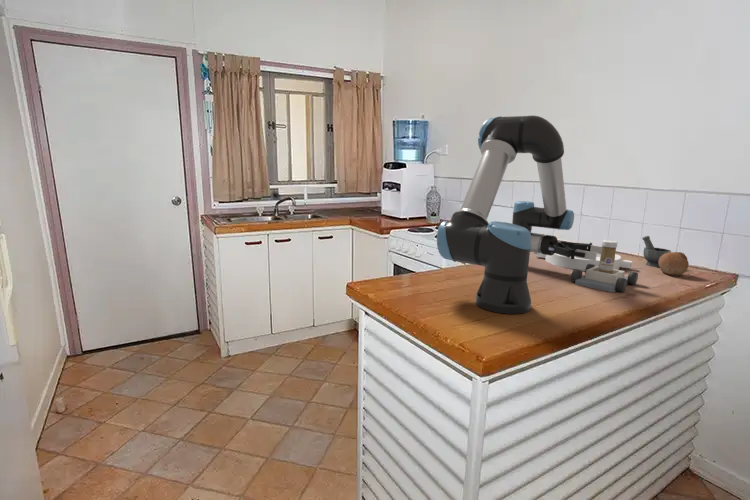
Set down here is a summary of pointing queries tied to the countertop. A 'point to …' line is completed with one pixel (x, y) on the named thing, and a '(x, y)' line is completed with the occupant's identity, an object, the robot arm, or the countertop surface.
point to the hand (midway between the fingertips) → (603, 254)
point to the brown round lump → (673, 263)
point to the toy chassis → (603, 279)
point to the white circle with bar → (581, 261)
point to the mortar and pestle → (652, 252)
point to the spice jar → (607, 256)
